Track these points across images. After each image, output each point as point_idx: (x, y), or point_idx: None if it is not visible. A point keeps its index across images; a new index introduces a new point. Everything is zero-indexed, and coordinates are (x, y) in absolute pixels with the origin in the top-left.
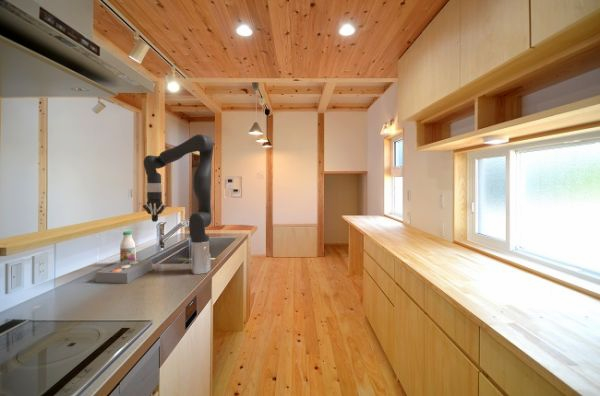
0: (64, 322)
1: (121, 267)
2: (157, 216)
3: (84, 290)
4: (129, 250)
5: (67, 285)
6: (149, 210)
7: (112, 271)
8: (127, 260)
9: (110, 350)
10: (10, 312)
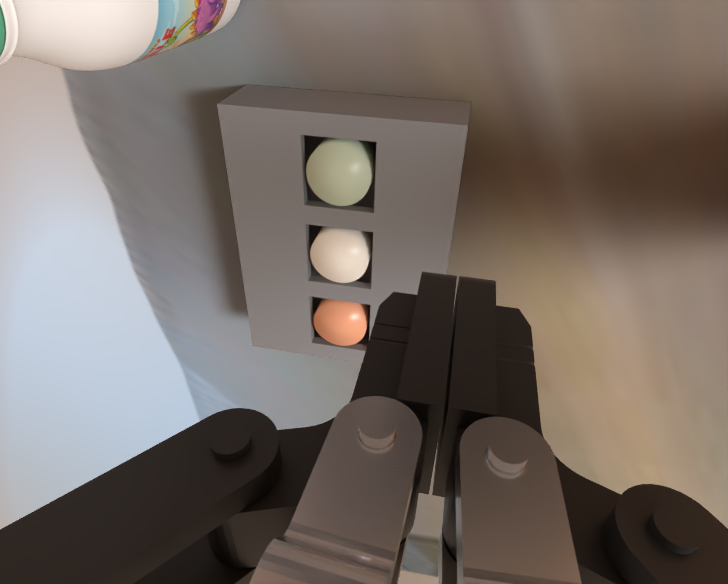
0: (429, 543)
1: (327, 277)
2: (529, 415)
3: (304, 385)
4: (163, 42)
5: (186, 332)
6: (121, 533)
7: (329, 340)
8: (246, 116)
9: None
10: None
